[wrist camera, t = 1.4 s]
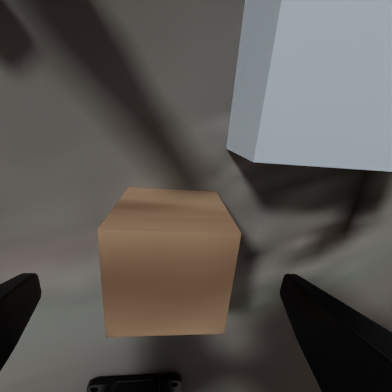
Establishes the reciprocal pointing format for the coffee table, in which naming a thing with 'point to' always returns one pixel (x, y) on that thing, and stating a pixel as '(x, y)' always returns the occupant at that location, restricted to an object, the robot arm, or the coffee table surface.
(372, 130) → the base block
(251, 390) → the coffee table surface
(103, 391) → the robot arm
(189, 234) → the walnut cube
